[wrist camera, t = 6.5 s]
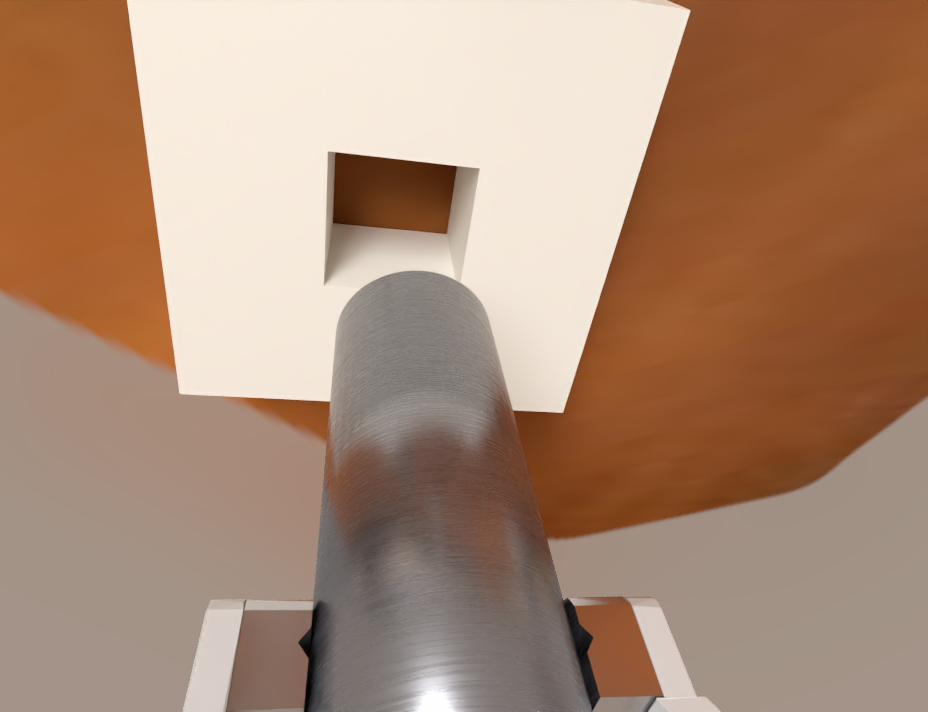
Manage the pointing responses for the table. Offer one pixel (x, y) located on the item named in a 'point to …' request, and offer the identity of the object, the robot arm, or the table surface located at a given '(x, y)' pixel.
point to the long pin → (431, 521)
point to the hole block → (398, 137)
